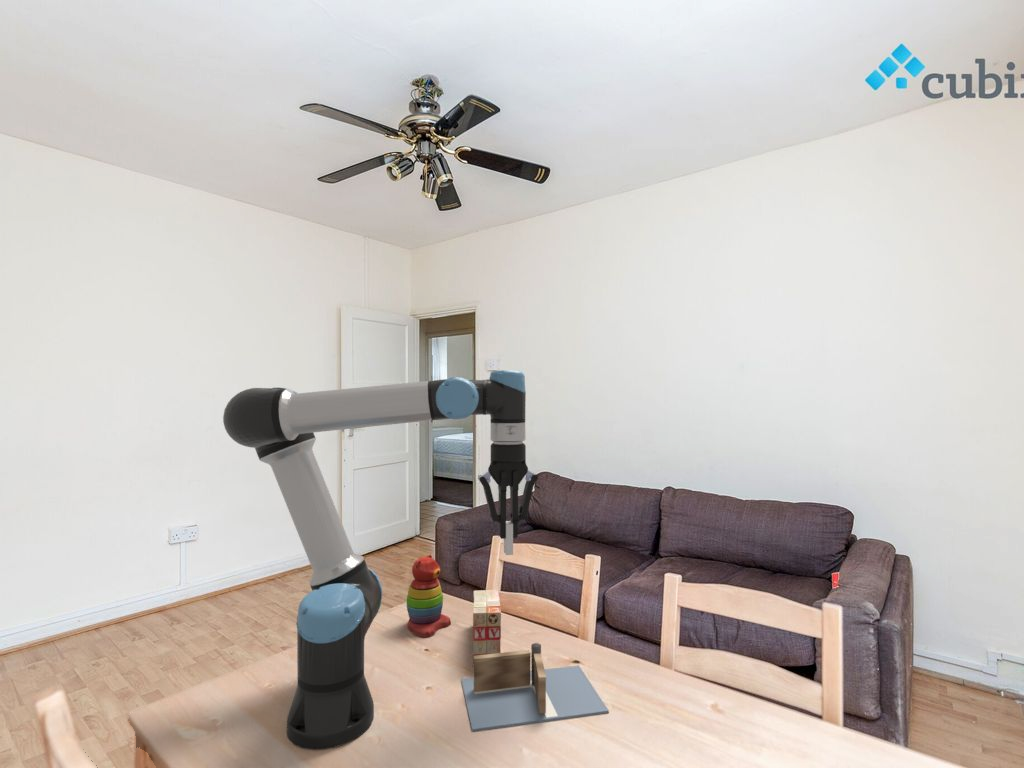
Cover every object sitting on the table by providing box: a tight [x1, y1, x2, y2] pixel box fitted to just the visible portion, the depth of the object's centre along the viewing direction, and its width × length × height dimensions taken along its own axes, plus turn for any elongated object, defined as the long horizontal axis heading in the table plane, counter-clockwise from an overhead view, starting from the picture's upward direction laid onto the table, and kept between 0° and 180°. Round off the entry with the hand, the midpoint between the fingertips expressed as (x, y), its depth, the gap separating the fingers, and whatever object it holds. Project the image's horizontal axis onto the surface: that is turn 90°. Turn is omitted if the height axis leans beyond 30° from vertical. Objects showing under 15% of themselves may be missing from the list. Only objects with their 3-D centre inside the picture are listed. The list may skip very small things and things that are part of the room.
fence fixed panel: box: [473, 642, 542, 692], centre depth 108 cm, size 14×2×8 cm, turn 102°
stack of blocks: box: [472, 589, 502, 669], centre depth 128 cm, size 21×6×12 cm, turn 4°
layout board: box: [460, 665, 610, 732], centre depth 106 cm, size 26×17×1 cm, turn 102°
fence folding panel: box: [534, 653, 546, 713], centre depth 103 cm, size 9×1×7 cm, turn 4°
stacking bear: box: [406, 554, 452, 638], centre depth 138 cm, size 11×10×18 cm
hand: (508, 553), depth 113 cm, fingers closed
